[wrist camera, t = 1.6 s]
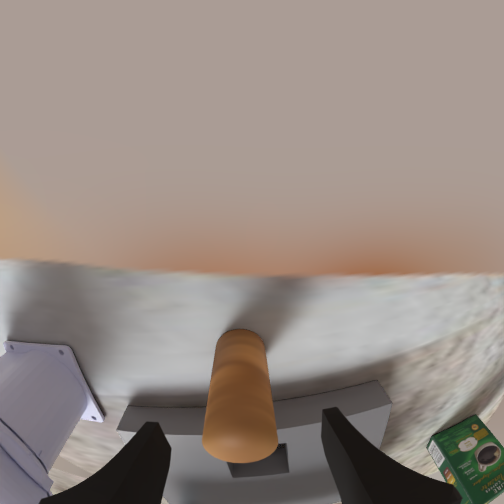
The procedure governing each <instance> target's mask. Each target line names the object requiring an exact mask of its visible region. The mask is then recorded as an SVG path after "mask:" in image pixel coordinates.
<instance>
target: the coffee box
mask: <svg viewBox="0 0 504 504" xmlns="http://www.w3.org/2000/svg"><path fill="white" fill-rule="evenodd" d="M426 448H427V450H428V451H429V453H430V455H431V457H432V458H433V460H434V462H435V464H436V465H437V467H438V469H439V470H440V472H441V474H442V476H443V477H444V479H445V481H446V483H449V484H453V485H454V487H455V488H456V489H457V490H458V491H459V493H460V495H461V496H462V498H463V499H462V501H461V503H460V504H488V503H490V502H491V501H493V500H494V499H495V498H497V497H498V496H499V495H500V494H502V493H503V492H504V448H503V446H502V445H501V444H500V442H499V441H498V440H497V439H496V438H495V436H494V435H493V434H492V433H491V431H490V430H489V429H488V428H487V427H486V426H485V424H484V423H483V422H482V421H481V420H480V418H479V417H478V416H477V415H476V414H475V415H474V416H472V417H470V418H467V419H465V420H464V421H463V422H461V423H459V424H457V425H455V426H453V427H451V428H449V429H447V430H444V431H442V432H440V433H438V434H436V435H434V436H432V437H431V439H430V441H429V443H428V445H427V447H426Z"/></svg>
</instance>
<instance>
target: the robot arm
mask: <svg viewBox="0 0 504 504" xmlns="http://www.w3.org/2000/svg"><path fill="white" fill-rule="evenodd" d="M4 347H5V350H6V353H5V354H4V355H2V356H1V357H0V504H161V500H162V496H163V492H164V488H165V484H166V480H167V476H168V472H169V468H170V461H171V450H172V448H171V446H170V444H169V442H168V440H167V438H166V436H165V434H164V432H163V430H162V428H161V426H160V424H159V422H148V421H146V422H145V424H144V425H143V426H142V427H141V428H140V429H139V430H138V431H137V433H136V434H135V435H134V436H133V437H132V438H131V440H130V441H129V442H128V443H127V444H126V445H125V446H124V447H123V448H122V449H121V450H120V452H119V453H118V454H117V455H116V456H115V457H113V458H112V459H111V460H110V461H109V462H108V463H107V464H106V465H105V466H104V467H103V468H101V469H100V470H99V471H97V472H96V473H95V474H93V475H92V476H91V477H89V478H87V479H86V480H84V481H83V482H81V483H79V484H78V485H76V486H74V487H72V488H70V489H68V490H65V491H63V492H61V493H58V494H55V495H53V494H52V492H51V491H50V488H51V486H52V484H53V481H52V480H51V479H50V478H49V476H48V475H47V474H48V473H49V471H50V469H51V467H52V466H53V464H54V462H55V460H56V458H57V457H58V455H59V453H60V452H61V450H62V448H63V446H64V445H65V443H66V441H67V440H68V438H69V436H70V435H71V433H72V431H73V430H74V428H75V426H76V425H77V423H78V421H79V420H80V419H84V420H90V421H96V422H103V421H104V419H105V418H104V416H103V414H102V412H101V410H100V409H99V407H98V405H97V403H96V401H95V399H94V397H93V395H92V393H91V391H90V389H89V387H88V385H87V383H86V381H85V379H84V377H83V375H82V372H81V370H80V368H79V366H78V363H77V361H76V359H75V356H74V354H73V351H72V350H71V348H70V347H69V346H66V345H51V344H36V343H25V342H14V341H5V342H4ZM62 351H63V352H62ZM321 440H322V444H323V449H324V453H325V457H326V459H327V462H328V465H329V468H330V470H331V473H332V476H333V478H334V481H335V483H336V486H337V489H338V491H339V495H340V498H341V502H342V504H460V503H461V501H462V499H463V498H462V496H461V495H460V493H459V491H458V490H457V489H456V488H455V487H454V485H453V484H449V483H445V482H442V481H438V480H435V479H432V478H429V477H427V476H424V475H422V474H419V473H417V472H415V471H413V470H411V469H409V468H407V467H405V466H403V465H401V464H400V463H398V462H396V461H395V460H393V459H392V458H390V457H389V456H387V455H386V454H384V453H383V452H382V451H380V450H379V449H378V448H377V447H375V446H374V445H373V444H372V443H371V442H370V441H368V440H367V439H366V438H365V437H364V436H363V435H362V434H361V433H360V432H359V431H358V430H357V429H356V428H355V427H354V426H353V425H352V424H351V423H350V422H349V421H348V419H347V418H346V417H345V416H344V415H343V413H342V412H341V411H340V410H339V408H338V407H332V408H327V409H322V426H321Z"/></svg>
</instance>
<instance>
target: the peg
mask: <svg viewBox="0 0 504 504" xmlns="http://www.w3.org/2000/svg"><path fill="white" fill-rule="evenodd" d="M202 444H203V447H204V449H205V450H206V451H207V452H208V453H209V454H210V455H212V456H214V457H215V458H218V459H220V460H223V461H227V462H232V463H250V462H255V461H259V460H261V459H264V458H266V457H268V456H269V455H271V454H272V453H273V452H274V451H275V450H276V448H277V446H278V436H277V429H276V422H275V415H274V408H273V401H272V394H271V387H270V380H269V373H268V366H267V359H266V352H265V346H264V343H263V341H262V339H261V338H260V337H259V336H258V335H257V334H256V333H254V332H252V331H249V330H245V329H235V330H231V331H228V332H226V333H225V334H223V335H222V336H221V337H220V338H219V340H218V342H217V344H216V349H215V356H214V362H213V368H212V375H211V381H210V388H209V394H208V401H207V408H206V415H205V422H204V429H203V436H202Z"/></svg>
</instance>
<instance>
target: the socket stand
mask: <svg viewBox="0 0 504 504" xmlns="http://www.w3.org/2000/svg"><path fill="white" fill-rule="evenodd" d="M332 407H338V408H339V410H340V411H341V412H342V413H343V415H344V416H345V417H346V418H347V419H348V421H349V422H350V423H351V424H352V425H353V426H354V427H355V428H356V429H357V430H358V431H359V432H360V433H361V434H362V435H363V436H364V437H365V438H366V439H367V440H368V441H370V442H371V443H372V444H373V445H374V446H375V447H377V448H378V449H380V446H381V443H382V440H383V436H384V433H385V429H386V426H387V422H388V419H389V415H390V411H391V407H392V401H391V400H390V398H389V397H388V395H387V394H386V392H385V391H384V389H383V388H382V386H381V385H380V383H379V382H378V380H375V381H372V382H368V383H365V384H361V385H357V386H353V387H349V388H345V389H340V390H336V391H331V392H326V393H322V394H316V395H311V396H306V397H300V398H294V399H287V400H281V401H273V408H274V415H275V422H276V429H277V436H278V444H281V443H285V448H277V449H276V450H275V451H274V452H273V453H272V454H271V455H269V456H268V457H266V458H264V459H261V460H259V461H255V462H250V463H232V462H227V461H223V460H220V459H218V458H215V457H214V456H212V455H210V454H209V453H208V452H207V451H206V450H205V449H204V447H203V444H202V436H203V429H204V422H205V415H206V408H207V407H198V408H159V407H136V406H127V408H126V411H125V413H124V415H123V417H122V419H121V421H120V423H119V425H118V427H117V430H116V431H117V432H118V434H119V435H120V437H121V439H122V440H123V442H124V443H125V445H126V444H127V443H128V442H129V441H130V440H131V438H132V437H133V436H134V435H135V434H136V433H137V431H138V430H139V429H140V428H141V427H142V426H143V425H144V424H145V422H146V421H148V422H159V424H160V426H161V428H162V430H163V432H164V434H165V436H166V438H167V440H168V442H169V444H170V446H171V448H172V450H171V461H170V468H169V472H168V476H167V480H166V484H165V488H164V492H163V497H164V498H165V499H166V500H167V502H168V503H169V504H332V503H336V502H340V501H341V498H340V495H339V491H338V489H337V486H336V483H335V481H334V478H333V476H332V473H331V470H330V468H329V465H328V462H327V459H326V457H325V453H324V449H323V444H322V440H321V426H322V409H327V408H332Z"/></svg>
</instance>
